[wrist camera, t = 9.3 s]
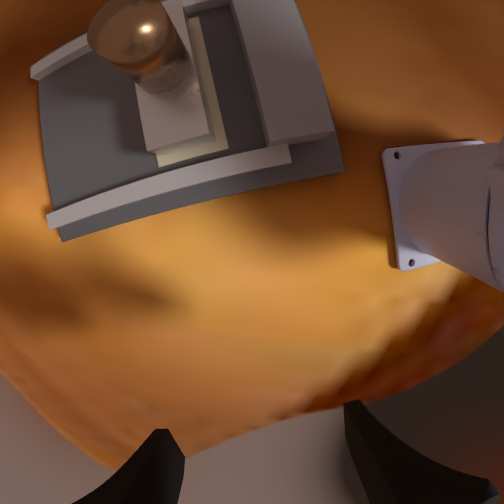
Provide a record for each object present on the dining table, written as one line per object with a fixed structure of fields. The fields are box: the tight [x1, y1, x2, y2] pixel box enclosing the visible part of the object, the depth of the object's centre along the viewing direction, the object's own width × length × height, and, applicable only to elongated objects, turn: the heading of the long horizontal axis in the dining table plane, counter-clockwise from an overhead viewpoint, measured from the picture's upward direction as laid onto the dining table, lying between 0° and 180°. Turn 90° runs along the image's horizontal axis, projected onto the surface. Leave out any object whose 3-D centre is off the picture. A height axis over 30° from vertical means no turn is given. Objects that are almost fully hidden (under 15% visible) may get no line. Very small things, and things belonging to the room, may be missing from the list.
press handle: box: [87, 0, 216, 156], centre depth 10 cm, size 3×8×8 cm, turn 13°
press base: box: [30, 0, 345, 242], centre depth 14 cm, size 18×14×4 cm
